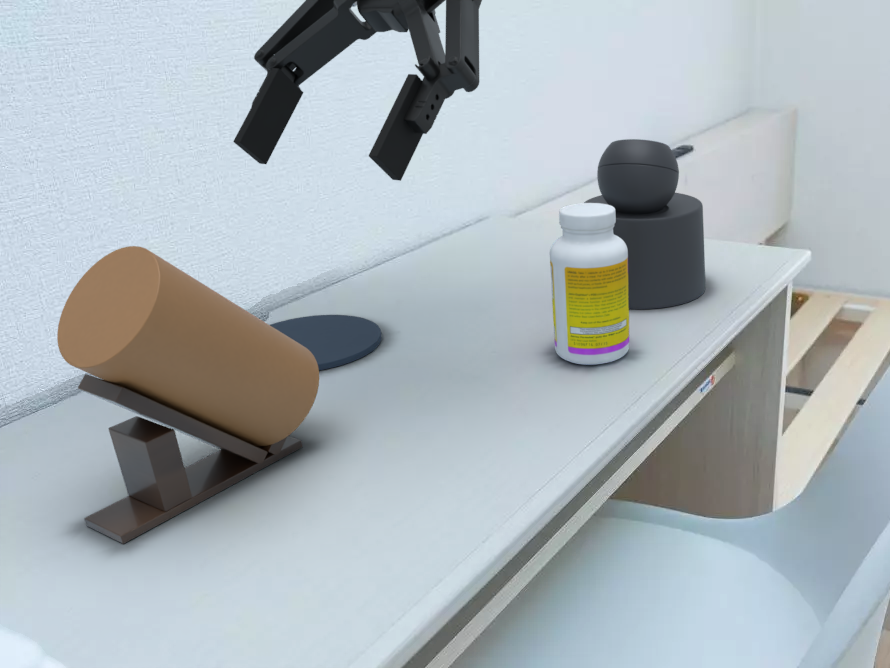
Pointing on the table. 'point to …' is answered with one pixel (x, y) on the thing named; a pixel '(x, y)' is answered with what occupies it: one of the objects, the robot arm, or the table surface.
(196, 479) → the roll stand
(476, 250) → the table surface
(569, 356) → the supplement bottle
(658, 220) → the gray pot with base
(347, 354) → the mat
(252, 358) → the paper roll
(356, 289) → the table surface
